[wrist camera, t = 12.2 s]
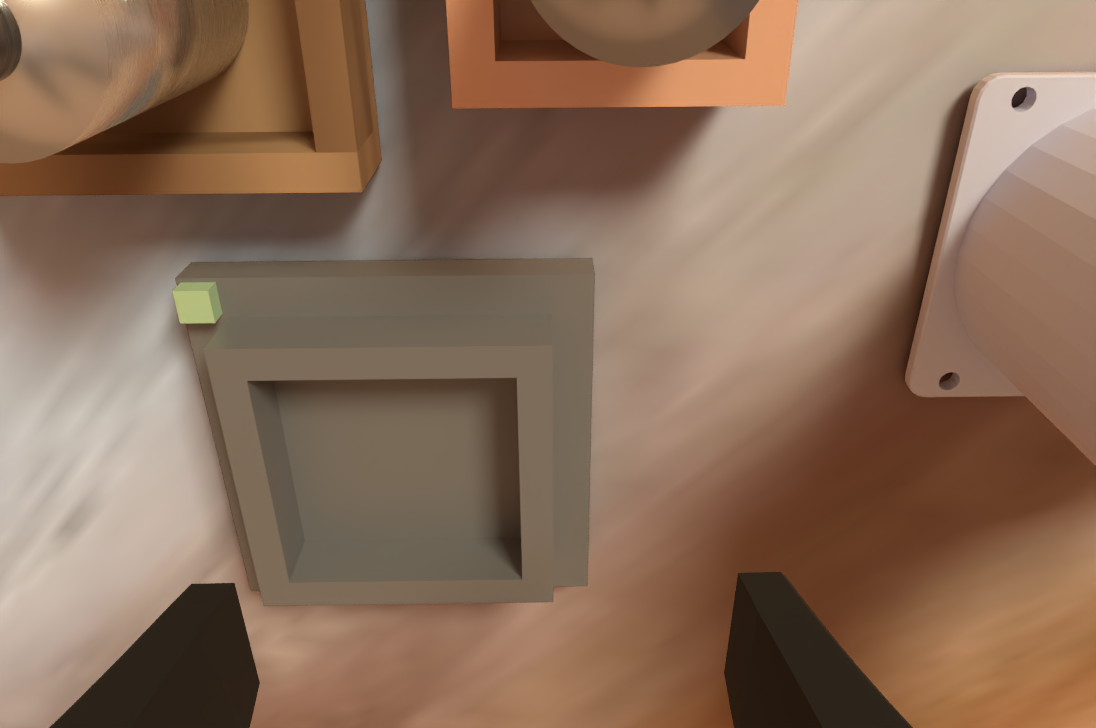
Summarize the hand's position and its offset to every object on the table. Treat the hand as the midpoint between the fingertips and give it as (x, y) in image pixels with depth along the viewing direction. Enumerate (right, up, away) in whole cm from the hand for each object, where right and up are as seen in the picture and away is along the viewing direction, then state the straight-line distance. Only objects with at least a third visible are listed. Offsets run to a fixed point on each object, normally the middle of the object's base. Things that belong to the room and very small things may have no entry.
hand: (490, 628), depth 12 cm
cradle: (-3, +2, +10) cm, 11 cm away
